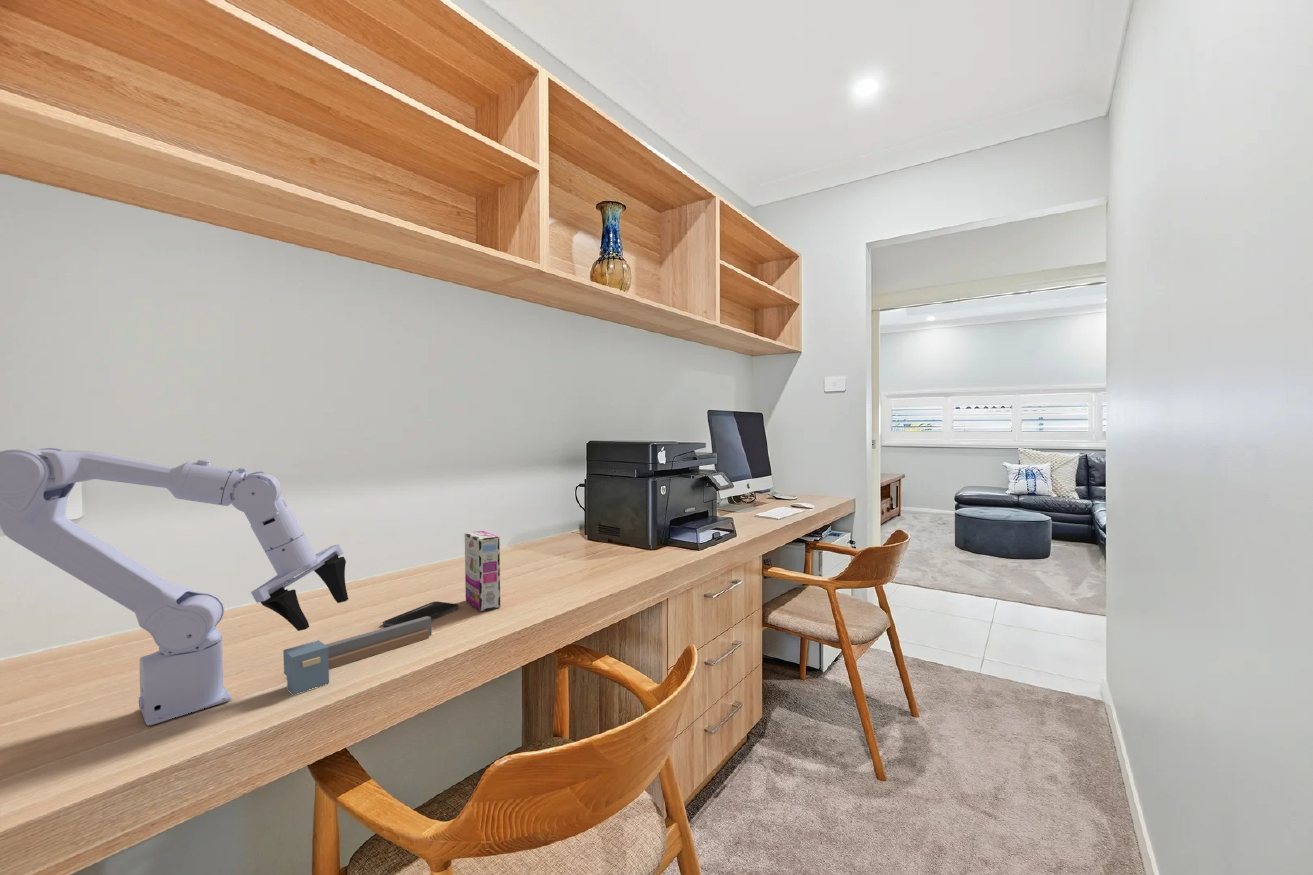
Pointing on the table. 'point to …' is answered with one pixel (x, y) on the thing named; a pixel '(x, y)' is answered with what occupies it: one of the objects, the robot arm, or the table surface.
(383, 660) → the table surface
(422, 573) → the table surface
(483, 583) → the candy bar box
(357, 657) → the grey and brown bar
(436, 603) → the phone
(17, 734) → the table surface
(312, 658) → the cabinet
